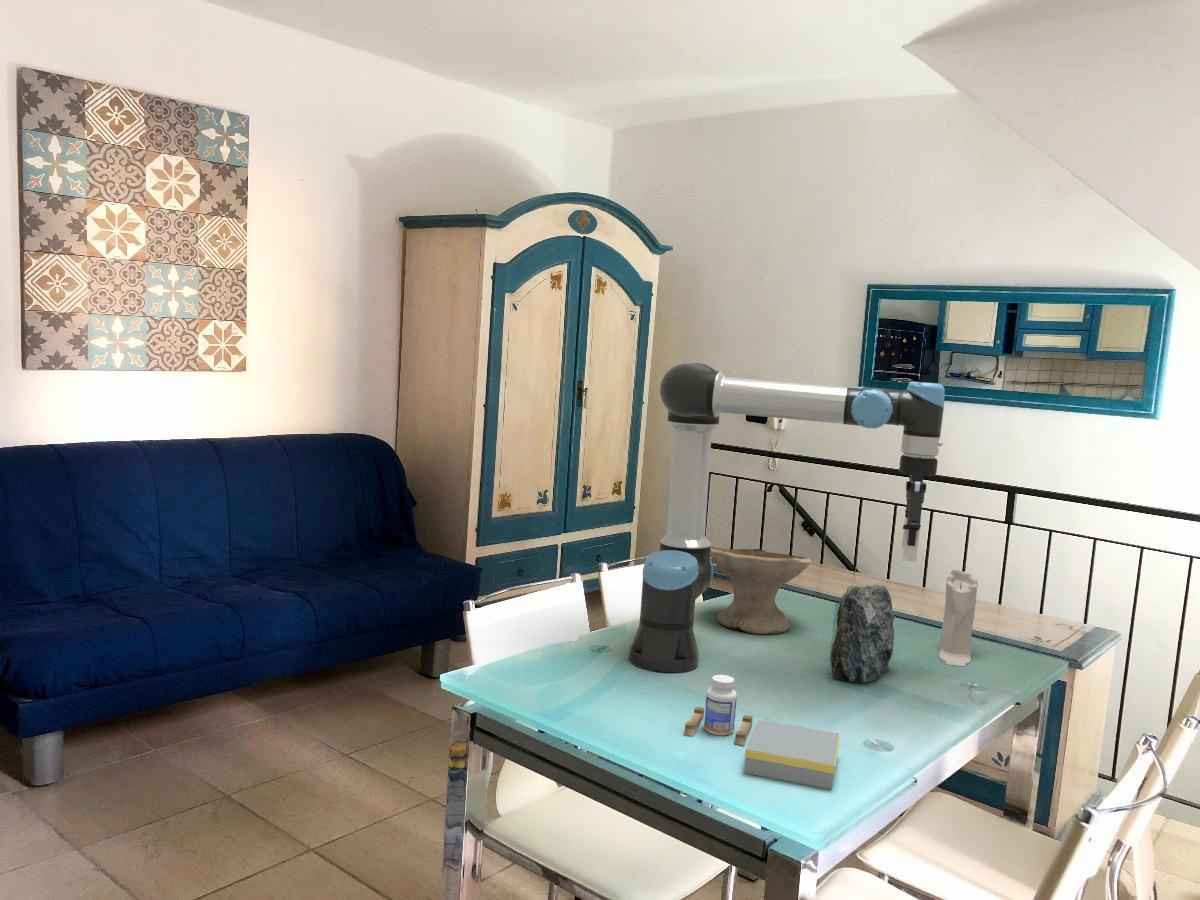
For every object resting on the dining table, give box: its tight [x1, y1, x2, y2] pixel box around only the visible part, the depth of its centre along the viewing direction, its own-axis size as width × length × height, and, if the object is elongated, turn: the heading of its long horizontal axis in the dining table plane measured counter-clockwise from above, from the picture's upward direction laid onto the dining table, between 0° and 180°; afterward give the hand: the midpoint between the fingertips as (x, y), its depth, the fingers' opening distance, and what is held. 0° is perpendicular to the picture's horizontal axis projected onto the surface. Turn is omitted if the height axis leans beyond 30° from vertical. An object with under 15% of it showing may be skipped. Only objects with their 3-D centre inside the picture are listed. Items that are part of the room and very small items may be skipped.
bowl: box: [710, 546, 812, 635], centre depth 246 cm, size 26×25×20 cm
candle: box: [938, 568, 979, 667], centre depth 230 cm, size 7×14×20 cm, turn 161°
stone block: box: [830, 583, 895, 684], centre depth 213 cm, size 18×9×20 cm, turn 134°
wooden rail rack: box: [683, 706, 753, 746], centre depth 177 cm, size 11×10×2 cm
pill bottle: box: [703, 674, 738, 736], centre depth 176 cm, size 5×5×10 cm
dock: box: [743, 718, 841, 790], centre depth 164 cm, size 14×14×4 cm
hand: (908, 554), depth 208 cm, fingers open, 13 cm apart
